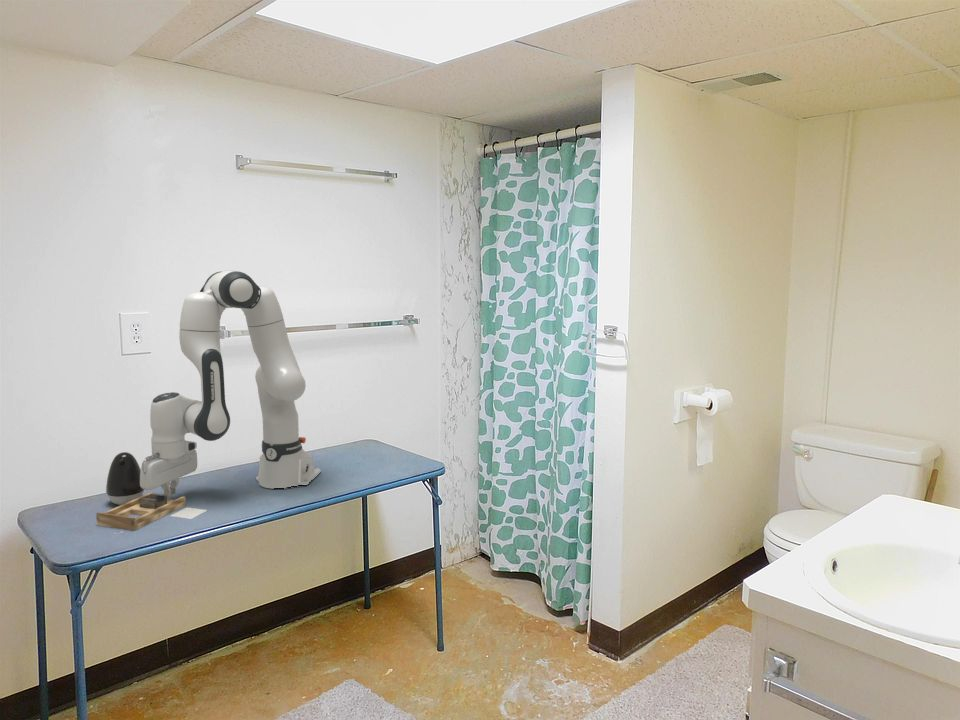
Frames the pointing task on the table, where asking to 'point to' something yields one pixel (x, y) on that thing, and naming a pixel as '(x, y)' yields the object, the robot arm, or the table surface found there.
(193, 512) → the white square plate
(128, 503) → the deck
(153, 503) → the clip
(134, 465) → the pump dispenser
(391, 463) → the table surface
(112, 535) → the table surface
